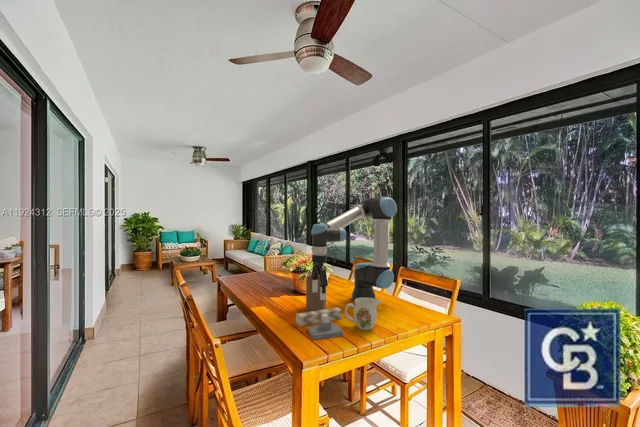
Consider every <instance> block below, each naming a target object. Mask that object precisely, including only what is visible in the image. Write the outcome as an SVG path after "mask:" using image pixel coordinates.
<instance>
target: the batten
mask: <svg viewBox="0 0 640 427" xmlns="http://www.w3.org/2000/svg"><path fill="white" fill-rule="evenodd" d="M321 314H327V315H328V316H329V320H330V321H331V322H333V321H339V320H342V319H343V315H342V314H343V310H342V309H341V308H339V307H332V308H327V309H326V308H325V309H324V310H318V311H306V312H305V311H304V312H301V313H300V312H299V313H295V324H296V325H297V327H304V326H311V325H315V324H319V321H321Z"/></svg>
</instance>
